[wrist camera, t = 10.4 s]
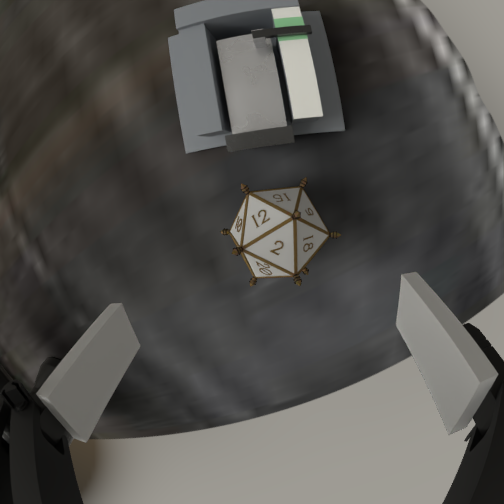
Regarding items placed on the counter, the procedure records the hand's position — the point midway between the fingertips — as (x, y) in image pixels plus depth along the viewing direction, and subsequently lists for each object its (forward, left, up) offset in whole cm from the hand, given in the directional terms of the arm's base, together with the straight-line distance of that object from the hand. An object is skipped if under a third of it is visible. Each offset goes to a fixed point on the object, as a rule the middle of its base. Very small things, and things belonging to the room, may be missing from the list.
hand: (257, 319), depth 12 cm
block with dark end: (+2, +12, -14) cm, 18 cm away
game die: (+1, 0, -15) cm, 15 cm away
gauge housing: (0, +14, -15) cm, 20 cm away
